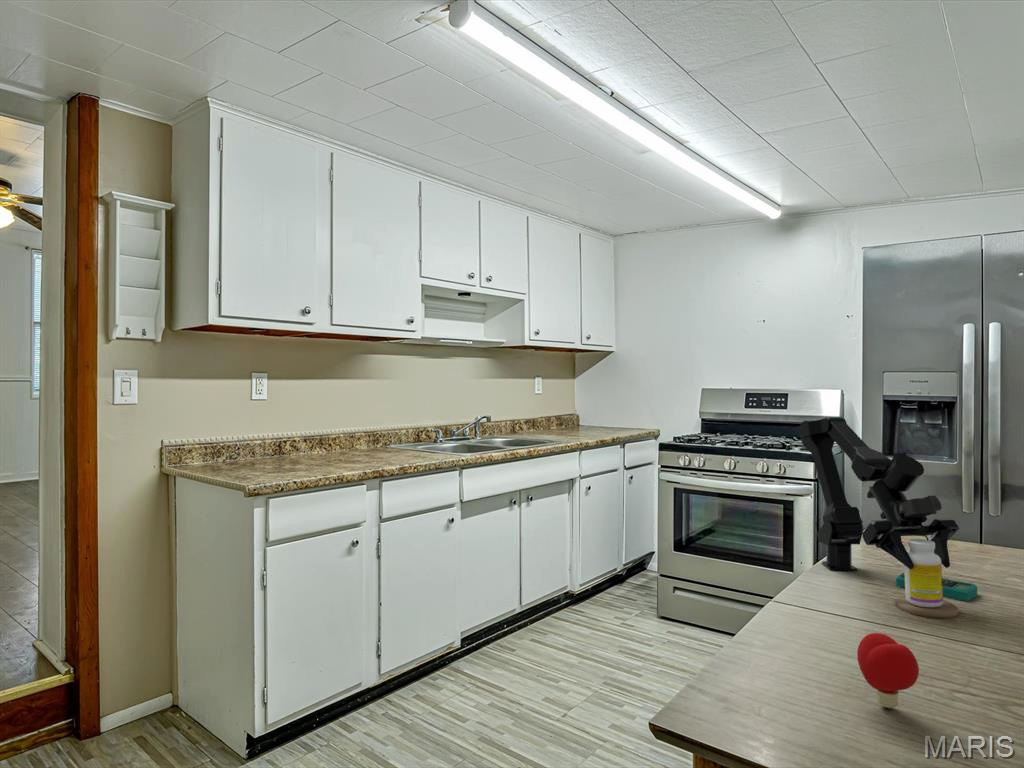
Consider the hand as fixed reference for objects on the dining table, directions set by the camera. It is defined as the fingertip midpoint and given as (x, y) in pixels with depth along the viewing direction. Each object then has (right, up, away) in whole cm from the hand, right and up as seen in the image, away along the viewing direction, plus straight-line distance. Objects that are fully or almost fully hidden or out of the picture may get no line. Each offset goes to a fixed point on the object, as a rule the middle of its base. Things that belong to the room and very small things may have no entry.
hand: (930, 567), depth 134 cm
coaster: (0, -9, +1) cm, 9 cm away
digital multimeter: (+10, -10, +13) cm, 19 cm away
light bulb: (-32, -9, -39) cm, 51 cm away
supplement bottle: (0, -8, +2) cm, 8 cm away
